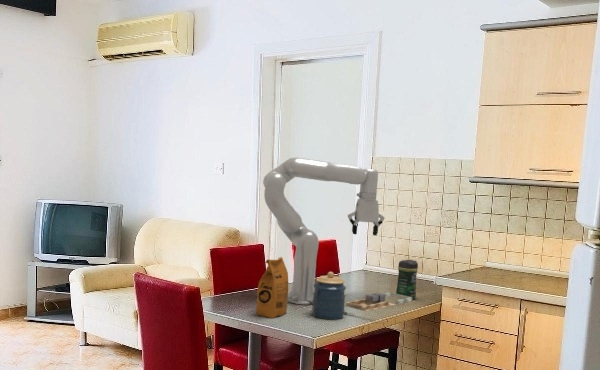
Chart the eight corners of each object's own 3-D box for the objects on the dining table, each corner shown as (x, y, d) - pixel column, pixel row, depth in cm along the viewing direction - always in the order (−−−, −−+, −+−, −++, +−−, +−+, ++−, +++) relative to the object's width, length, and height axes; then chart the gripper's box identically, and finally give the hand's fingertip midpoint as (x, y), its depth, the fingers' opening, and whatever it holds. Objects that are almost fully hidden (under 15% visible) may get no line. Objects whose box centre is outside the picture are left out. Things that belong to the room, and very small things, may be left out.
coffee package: (251, 314, 216) (255, 258, 216) (269, 309, 227) (273, 255, 227) (272, 319, 211) (276, 261, 211) (290, 313, 222) (294, 258, 221)
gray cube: (372, 306, 238) (373, 296, 238) (365, 304, 241) (365, 294, 241) (378, 304, 241) (378, 295, 241) (370, 302, 244) (371, 293, 244)
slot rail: (366, 314, 228) (366, 307, 228) (343, 308, 237) (343, 301, 237) (412, 304, 255) (412, 297, 255) (390, 298, 263) (390, 292, 263)
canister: (324, 309, 232) (327, 267, 232) (350, 316, 224) (353, 272, 223) (305, 314, 222) (308, 270, 222) (331, 321, 214) (334, 275, 213)
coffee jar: (407, 301, 259) (410, 261, 259) (393, 298, 264) (396, 259, 264) (418, 299, 266) (421, 260, 266) (403, 295, 272) (406, 257, 271)
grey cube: (379, 304, 242) (380, 295, 242) (371, 302, 245) (372, 293, 245) (384, 303, 245) (385, 294, 245) (377, 301, 248) (377, 292, 248)
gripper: (352, 195, 244) (349, 234, 244) (389, 198, 248) (385, 236, 249) (346, 194, 251) (343, 232, 251) (382, 197, 256) (379, 234, 256)
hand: (364, 234), depth 250 cm, fingers open, 9 cm apart
